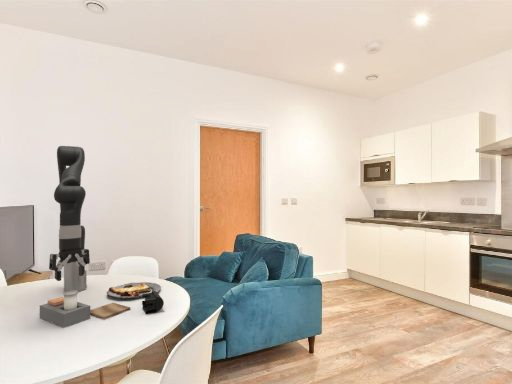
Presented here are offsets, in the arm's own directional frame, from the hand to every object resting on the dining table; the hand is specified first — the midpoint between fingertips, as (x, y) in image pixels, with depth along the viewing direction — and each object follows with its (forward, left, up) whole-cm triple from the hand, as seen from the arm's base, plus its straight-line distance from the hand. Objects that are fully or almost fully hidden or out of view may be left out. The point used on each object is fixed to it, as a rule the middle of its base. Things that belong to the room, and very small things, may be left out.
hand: (70, 278), depth 122 cm
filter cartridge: (0, 0, -17) cm, 17 cm away
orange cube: (0, -9, -15) cm, 17 cm away
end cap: (-24, +19, -17) cm, 35 cm away
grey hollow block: (0, -4, -17) cm, 17 cm away
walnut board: (-13, +5, -17) cm, 22 cm away
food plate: (-35, -7, -17) cm, 40 cm away
